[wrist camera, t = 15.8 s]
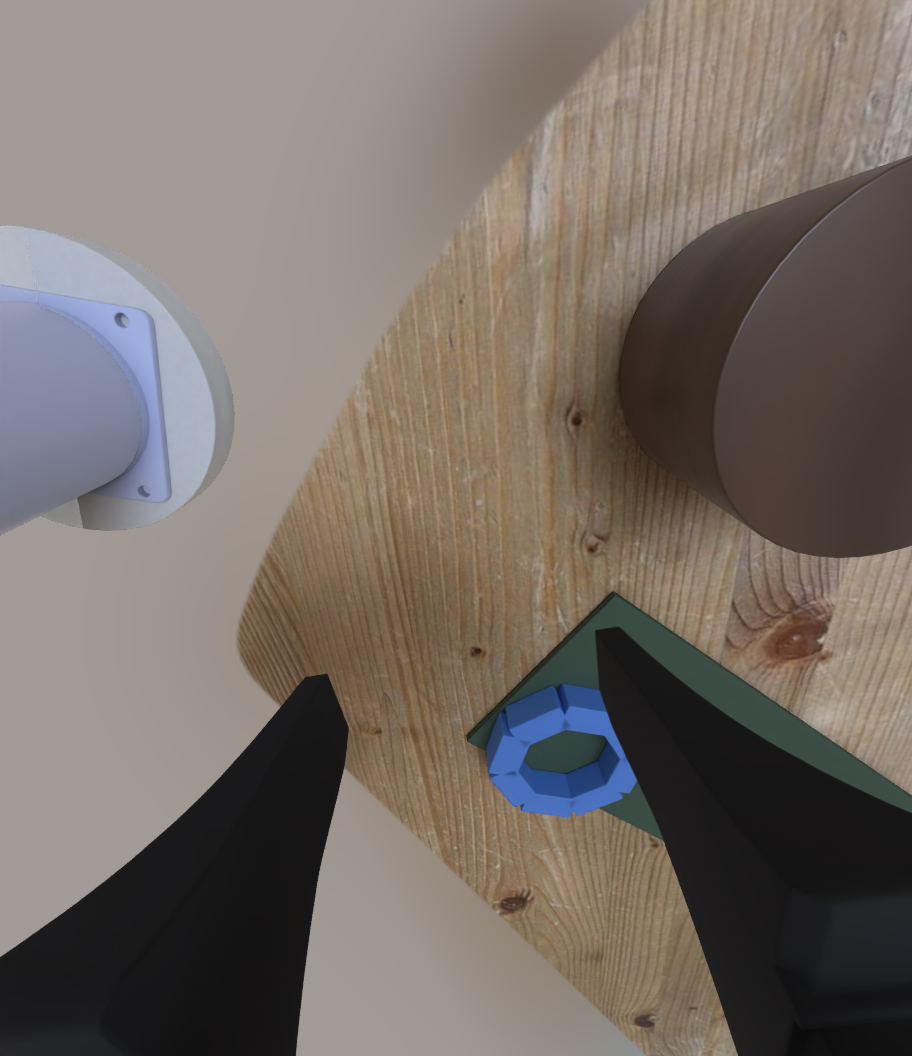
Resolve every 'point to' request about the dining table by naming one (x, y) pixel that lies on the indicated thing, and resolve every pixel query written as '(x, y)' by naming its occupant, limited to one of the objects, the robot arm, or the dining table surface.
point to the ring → (552, 789)
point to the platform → (788, 367)
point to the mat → (701, 674)
